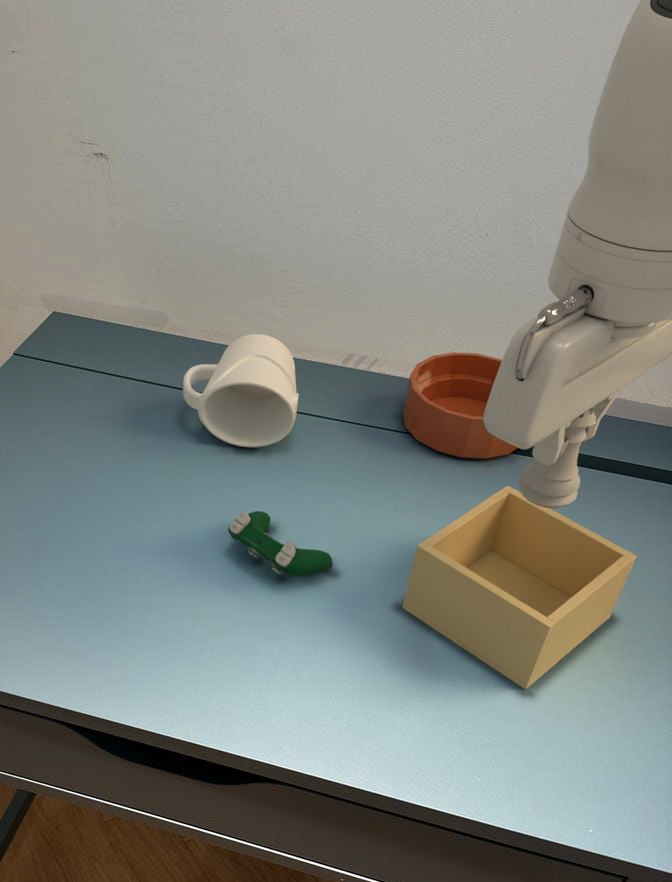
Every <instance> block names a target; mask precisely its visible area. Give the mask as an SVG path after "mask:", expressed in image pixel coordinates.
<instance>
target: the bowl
mask: <svg viewBox="0 0 672 882" xmlns="http://www.w3.org/2000/svg"><path fill="white" fill-rule="evenodd" d="M502 359H503V358H502ZM502 359H501V358H498V357H493V356H490V355H485V354H481V353H477V352H476V353H474V352H455V351H454V352H453V351H452V352H448V353H442V354H436V355H431V356H429V357H428V358H426V359H424V360H422V361H420V362H418V363H416V364H415V367H413V369H412V371H411V373H410V375H409V379H408V383H407V388H406V393H405V398H404V404H403V407H402V418H403V424H404V427H405V428H406V429H407V430H408V432H409V433H410V434H411V435H412V436H413V437H414V439H416V440H417V441H419V442H420V443H422V444H424V445H426V446H428V447H429V448H431V449H433V450H435V451H437V452H440V453H443V454H447V455H450V456H455V457H459V458H466V459H467V458H468V459H492V458H496V457H497V458H498V457H501V456H506V455H509V454H512V452H514V451H516V450H517V449H519V448H518V447H515V446H513V445H511V444H509V443H507V442H505V441H503V440H501V439H500V438H498V437H496V436H494V435H492V434H491V433H489V432H488V431H487V429H486V427H485V425H484V421H483V416H484V411H485V408H486V405H487V402H488V399H489V396H490V393H491V390H492V387H493V384H494V381H495V378H496V376H497V373H498V370H499V367H500V365H501V362H502Z"/></svg>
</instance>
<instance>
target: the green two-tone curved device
mask: <svg viewBox="0 0 672 882" xmlns="http://www.w3.org/2000/svg"><path fill="white" fill-rule="evenodd" d="M271 520H272V519H271V516H270V514H268V513H267V512H265V511H262V510H261V511H260V510H255V511H252V512H250V513H249V512H247V511H242V512H240V513H239V514H238V515H236V517H234V519H233V520H232V521H231V522H230V524H229V526H228V529H227V531H228V534H230V537H231V538H232V539H233V540H235V541H237V542H238V543H240V544H242V545H243V546H244V547H246V548H248V549H249V550H248V554H249V555H251V556H253V557H254V558H256V559H258V558H259V557H261V558H262V559H264V560H265V561H267V562H269V563H270V564H271V565H272V566H271V570H272V571H273V572H275V573H277V574H279V575H282V574H283V573H285V574H286V575H287V576H288V577H291V578H293V577H296V578H298V577H299V578H303V577H312V576H315V575H318V574H321V573H323V572H326V571H328V570H330V569H332V568H333V566H334V562H333V558H332V556H331V555H330V553H328V552H326V551H323V550H320V549H310V548H309V549H308V548H299V547H296V545H295V544H294V543H293V542H292V541H286V543H285V544H283V543H281V542H280V541H279V540H277V539H276V538H274V537H272V536H271V535H269V534H267V532H268V530H269V528H270V525H271Z"/></svg>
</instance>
